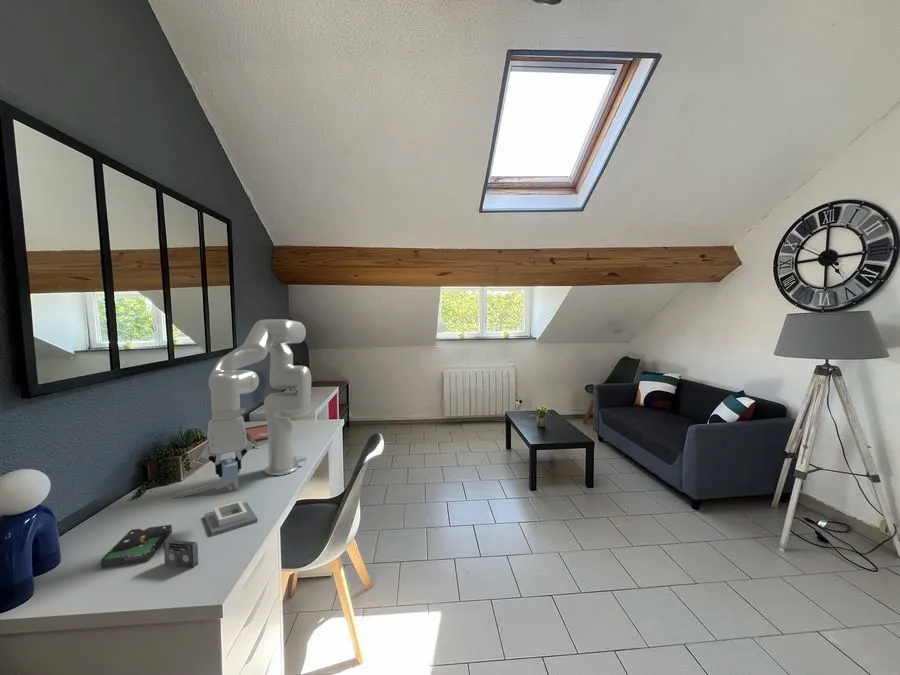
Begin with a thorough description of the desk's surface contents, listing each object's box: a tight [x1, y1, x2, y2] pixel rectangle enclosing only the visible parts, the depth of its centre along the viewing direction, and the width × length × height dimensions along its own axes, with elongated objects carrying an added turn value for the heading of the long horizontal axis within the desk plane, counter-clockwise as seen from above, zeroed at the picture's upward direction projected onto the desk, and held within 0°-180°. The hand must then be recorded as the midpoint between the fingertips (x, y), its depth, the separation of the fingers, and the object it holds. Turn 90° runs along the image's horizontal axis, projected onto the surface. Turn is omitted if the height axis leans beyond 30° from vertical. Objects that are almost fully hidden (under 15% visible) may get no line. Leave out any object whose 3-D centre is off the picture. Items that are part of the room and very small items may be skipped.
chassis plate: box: [203, 500, 259, 536], centre depth 121 cm, size 12×14×3 cm
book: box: [245, 423, 268, 447], centre depth 202 cm, size 26×18×5 cm
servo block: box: [219, 456, 239, 482], centre depth 120 cm, size 4×9×6 cm, turn 39°
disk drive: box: [100, 524, 173, 569], centre depth 106 cm, size 10×3×15 cm
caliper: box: [172, 479, 239, 499], centre depth 139 cm, size 20×1×6 cm, turn 106°
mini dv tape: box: [163, 539, 199, 569], centre depth 99 cm, size 8×2×6 cm, turn 81°
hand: (228, 473), depth 120 cm, fingers closed on servo block, 4 cm apart
